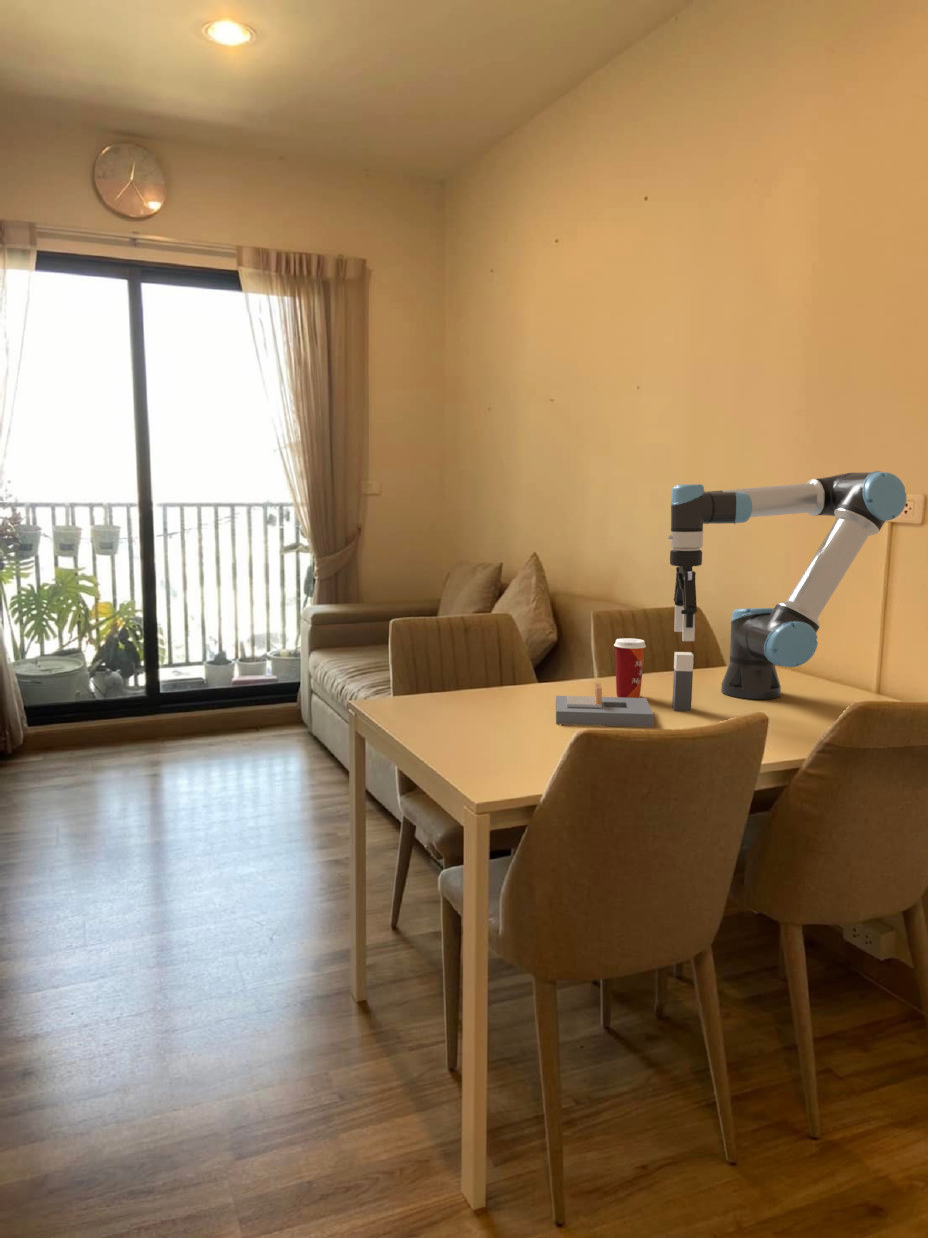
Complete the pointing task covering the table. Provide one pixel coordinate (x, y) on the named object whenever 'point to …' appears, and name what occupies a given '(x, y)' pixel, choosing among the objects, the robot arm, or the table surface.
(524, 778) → the table surface
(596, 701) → the light gray plate
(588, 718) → the block
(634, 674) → the coffee cup
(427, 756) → the table surface
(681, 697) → the grey white tall block
